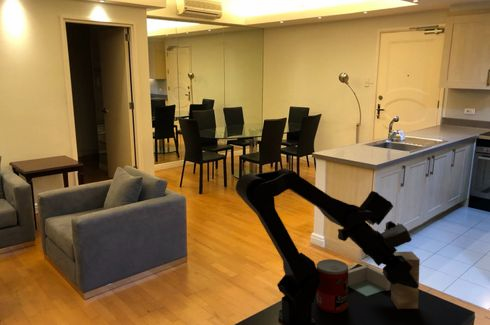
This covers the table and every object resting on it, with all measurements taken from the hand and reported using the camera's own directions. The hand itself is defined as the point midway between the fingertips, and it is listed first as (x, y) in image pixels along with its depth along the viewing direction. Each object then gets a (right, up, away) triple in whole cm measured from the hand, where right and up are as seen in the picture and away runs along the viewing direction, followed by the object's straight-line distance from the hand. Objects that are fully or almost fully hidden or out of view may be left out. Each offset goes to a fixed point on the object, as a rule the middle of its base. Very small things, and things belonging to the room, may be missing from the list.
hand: (410, 278), depth 102 cm
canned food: (-19, -8, +2) cm, 21 cm away
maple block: (-1, -7, +1) cm, 7 cm away
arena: (-10, -6, +9) cm, 15 cm away
